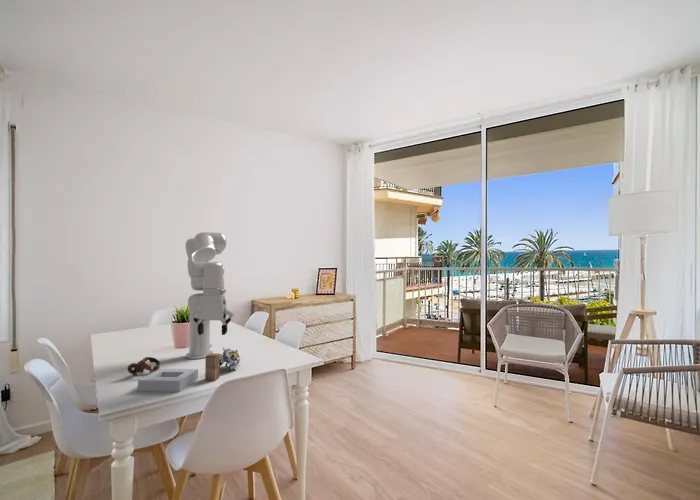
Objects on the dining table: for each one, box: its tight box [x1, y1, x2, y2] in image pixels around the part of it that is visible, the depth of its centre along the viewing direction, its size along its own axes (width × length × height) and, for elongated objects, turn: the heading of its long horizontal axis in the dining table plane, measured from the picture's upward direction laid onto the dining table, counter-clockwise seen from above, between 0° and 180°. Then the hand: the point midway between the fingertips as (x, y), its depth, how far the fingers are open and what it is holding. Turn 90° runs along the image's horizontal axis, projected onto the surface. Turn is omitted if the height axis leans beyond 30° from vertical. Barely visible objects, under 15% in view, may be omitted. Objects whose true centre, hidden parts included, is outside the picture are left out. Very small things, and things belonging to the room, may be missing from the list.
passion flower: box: [219, 347, 241, 371], centre depth 156 cm, size 11×11×12 cm
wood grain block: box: [204, 352, 220, 382], centre depth 143 cm, size 4×4×10 cm
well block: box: [137, 368, 199, 393], centre depth 136 cm, size 14×16×4 cm
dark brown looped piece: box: [127, 356, 161, 377], centre depth 147 cm, size 12×10×8 cm
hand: (212, 334), depth 143 cm, fingers open, 9 cm apart
